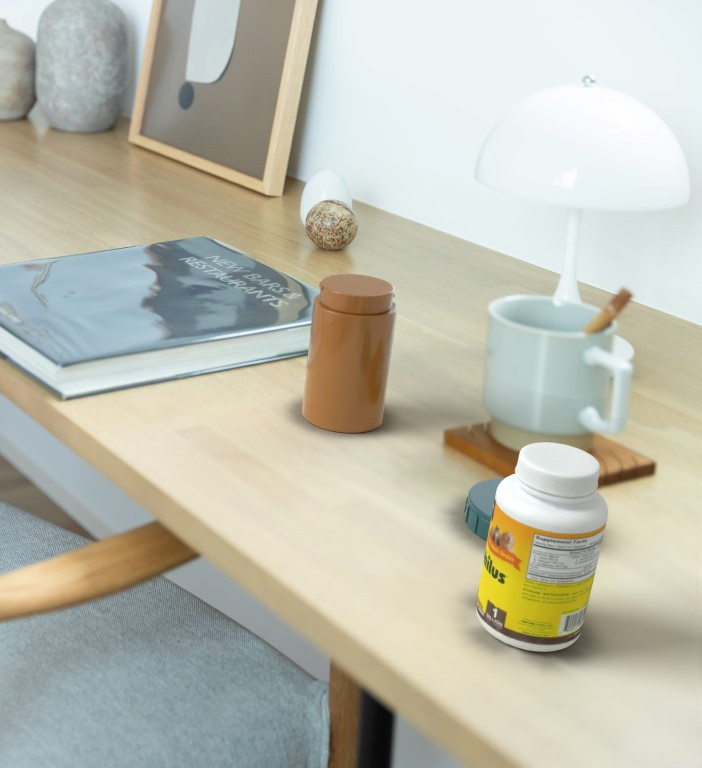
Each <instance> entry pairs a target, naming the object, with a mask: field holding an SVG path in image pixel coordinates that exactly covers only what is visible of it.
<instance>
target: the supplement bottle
mask: <svg viewBox="0 0 702 768" xmlns="http://www.w3.org/2000/svg"><path fill="white" fill-rule="evenodd" d="M517 458H518V459H517V463H516V466H515V469H514V472H515V473H513V474H511V475H508V476H507V477H504V478H505V479H504V480H503V481H502V482H501V483H500V484H499V486H498V488H497V491H496V495H495V500H494V506H493V511H492V517H491V522H490V527H489V533H488V539H487V540H486V545H485V551H484V556H483V562H482V567H481V572H480V573H481V574H480V579H479V584H478V589H477V596H476V602H475V613H476V616H477V619H478V621H479V623H480V624H481V626H482V627H483V628H484V629H485V630H486V631H487V632H488V633H489V634H490V635H492V636H493V637H494V638H496V639H497V640H499V641H501V642H502V643H505V644H507V645H509V646H512V647H514V648H517V649H521V650H525V651H531V652H541V653H543V652H544V653H545V652H555V651H560V650H563V649H566V648H568V647H570V646H572V645H573V644H575V642H576V641H577V640H578V639H579V637H580V636H581V634H582V631H583V627H584V623H585V619H586V615H587V610H588V605H589V602H590V597H591V592H592V588H593V585H594V580H595V575H596V571H597V567H598V563H599V558H600V554H601V549H602V544H603V541H604V540H603V539H604V537H605V531H606V526H607V522H608V518H609V517H608V516H609V506H608V503H607V501H606V500H605V498H604V496H603V495H602V494H601V493H600V492H599V491H597V489H598V487H599V479H600V478H599V477H600V473H601V465H600V462H599V461H598V459H597V458H596V457H595V456H593V455H592V454H590V453H589V452H587V451H585V450H583V449H580V448H578V447H575V446H572V445H568V444H563V443H558V442H548V441H547V442H545V441H544V442H535V443H530V444H527V445H525V446H523V447H522V448H521V449H520V451H519V454H518V457H517Z"/></svg>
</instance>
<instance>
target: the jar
mask: <svg viewBox="0 0 702 768" xmlns="http://www.w3.org/2000/svg"><path fill="white" fill-rule="evenodd" d="M318 285H319V288H320V290H319V293H318V294H316V295H315V296H314V298H313V303H312V312H311V313H312V314H311V321H310V330H309V331H310V333H309V342H308V351H307V358H306V370H305V377H304V378H305V379H304V386H303V387H304V389H303V397H302V408H301V415H302V417H303V418H304V419H305V420H306V421H307V422H309V423H310V424H311V425H314V426H315V427H318V428H319V429H320V428H321V429H324V430H327V431H331V432H337V433H345V434H359V433H366V432H370V431H373V430H375V429H378V428H379V427H380V426H381V425H382V423H383V419H384V411H385V404H386V396H387V389H388V381H389V376H390V375H389V374H390V366H391V360H392V352H393V345H394V337H395V330H396V321H397V315H398V305H397V304H396V302H395V301H394V297H395V296H396V294H395V286H394V285H393V284H391V283H390V282H389V281H387V280H384V279H382V278H379V277H375V276H371V275H366V274H357V273H356V274H355V273H339V274H333V275H332V274H331V275H328V276H326V277H324V278H322V280H321V281H319V284H318Z"/></svg>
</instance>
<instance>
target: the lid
mask: <svg viewBox="0 0 702 768" xmlns="http://www.w3.org/2000/svg"><path fill="white" fill-rule="evenodd" d="M505 478H506V477H497V478H489V479H485V480H481V481H479V482H477V483H475V484H473V485H472V486H471V488H470V489H469V491H468V496H466V501H465V506H464V511H463V512H464V519H465V520H464V522H465V523H466V524H467V527H468V528H469V529H470V530H471V531H472V532H473V533H474V534H475V535H477V536H478V537H480V538H481V539H483V540H485V541H487V539H488V533H489V527H490V522H491V517H492V511H493V506H494V500H495V495H496V491H497V488H498V486H499V484H500V483H501V482H502V481H503V480H504V479H505Z"/></svg>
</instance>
